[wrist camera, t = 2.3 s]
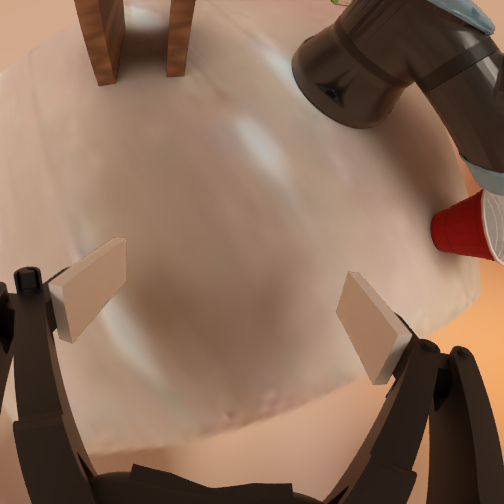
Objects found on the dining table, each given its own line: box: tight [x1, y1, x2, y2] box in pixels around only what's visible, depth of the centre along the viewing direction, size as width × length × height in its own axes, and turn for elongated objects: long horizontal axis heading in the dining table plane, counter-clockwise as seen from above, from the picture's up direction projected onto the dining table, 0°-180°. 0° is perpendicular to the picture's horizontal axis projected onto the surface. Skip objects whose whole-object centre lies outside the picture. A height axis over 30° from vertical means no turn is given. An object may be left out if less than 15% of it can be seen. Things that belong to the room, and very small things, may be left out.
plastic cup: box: [431, 188, 504, 265], centre depth 29 cm, size 11×11×12 cm
